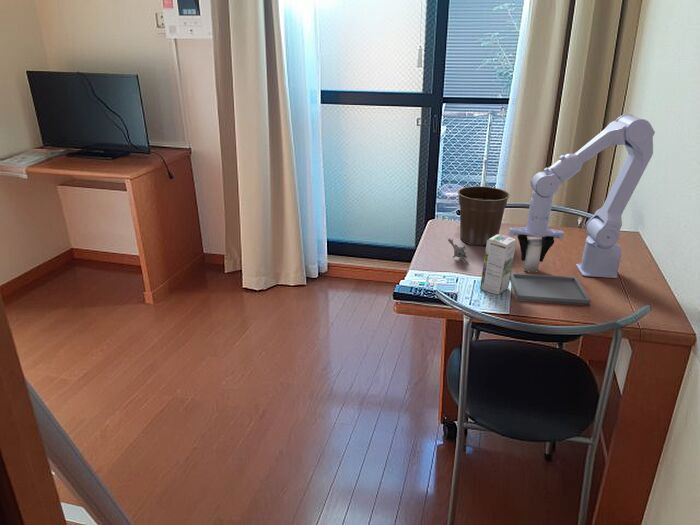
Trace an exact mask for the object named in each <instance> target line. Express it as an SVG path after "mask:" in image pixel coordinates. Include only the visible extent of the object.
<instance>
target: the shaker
mask: <svg viewBox="0 0 700 525" xmlns="http://www.w3.org/2000/svg"><path fill="white" fill-rule="evenodd" d="M527 240H528V245H527V248H526V256H525V261H523V262H522V268H523V269H524V270H523V269H522V268H521V269H522V270H523V271H525V270H526V271H525V272H527V271H529V272H528V273H537V272H538V271H539V267H540V256H541V250H542V238H540V237H530V236H529V237H527ZM536 271H537V272H536Z"/></svg>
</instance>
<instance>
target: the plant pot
mask: <svg viewBox="0 0 700 525" xmlns="http://www.w3.org/2000/svg"><path fill="white" fill-rule="evenodd" d="M457 195H458V204H459V209H460V210H459V215H460V216H459V218H460V219H459V220H460V222H459V225H460V226H459V228H460V229H459V236H460V237H459V238H460V240H462V242H464V244H465V243H466V244H468V245H471V246H480V247H482V246H483V247H484V246H485V245H486V244H487V240H488V239H490V238H492V237H493V236H495V235H497V234H498V235H500V230H501V225H502V222H503V216H504V212H505V209H506V207H507V203H508V199H510V197H511V196H510V195H511V194H510V193H509V192H508V191H506V190H505V189H504V190H503V189H501V188H497V187H491V186H481V185H480V186H478V185H477V186H474V185H473V186H465V187H462V188H460V189H458V190H457Z"/></svg>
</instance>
